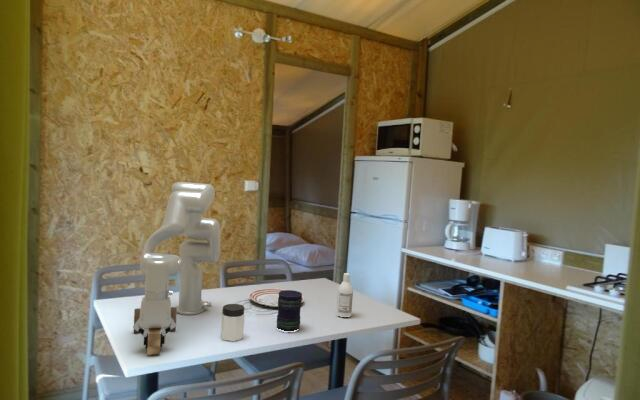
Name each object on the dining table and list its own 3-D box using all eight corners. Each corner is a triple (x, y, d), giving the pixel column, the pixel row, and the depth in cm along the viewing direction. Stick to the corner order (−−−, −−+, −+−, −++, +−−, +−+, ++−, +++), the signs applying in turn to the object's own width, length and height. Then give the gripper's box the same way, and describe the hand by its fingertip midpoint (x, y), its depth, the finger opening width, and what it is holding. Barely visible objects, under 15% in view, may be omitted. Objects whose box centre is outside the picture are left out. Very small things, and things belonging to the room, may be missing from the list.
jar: (234, 331, 175) (236, 302, 175) (247, 337, 170) (249, 307, 169) (215, 337, 168) (217, 306, 168) (229, 343, 163) (231, 311, 162)
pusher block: (160, 342, 158) (161, 323, 157) (159, 353, 148) (160, 333, 148) (148, 342, 156) (149, 323, 156) (147, 354, 147) (148, 334, 146)
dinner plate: (314, 302, 223) (314, 296, 223) (281, 315, 200) (281, 308, 200) (271, 291, 238) (272, 285, 238) (236, 302, 215) (237, 295, 215)
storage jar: (290, 335, 176) (293, 298, 175) (271, 328, 181) (273, 293, 180) (304, 328, 184) (306, 293, 184) (285, 322, 190) (287, 288, 189)
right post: (175, 329, 173) (176, 307, 172) (175, 331, 171) (176, 309, 170) (168, 329, 172) (169, 307, 172) (168, 332, 170) (169, 309, 169)
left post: (140, 331, 169) (142, 308, 168) (140, 333, 166) (141, 310, 166) (133, 331, 168) (134, 308, 167) (133, 334, 165) (134, 310, 165)
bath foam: (353, 318, 202) (356, 275, 201) (339, 319, 200) (342, 275, 198) (347, 313, 209) (350, 271, 207) (333, 314, 206) (337, 272, 205)
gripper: (181, 290, 158) (179, 340, 159) (130, 292, 152) (128, 343, 153) (182, 297, 150) (179, 349, 152) (129, 298, 145) (126, 352, 146)
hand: (154, 345), depth 152 cm, fingers closed on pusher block, 4 cm apart
